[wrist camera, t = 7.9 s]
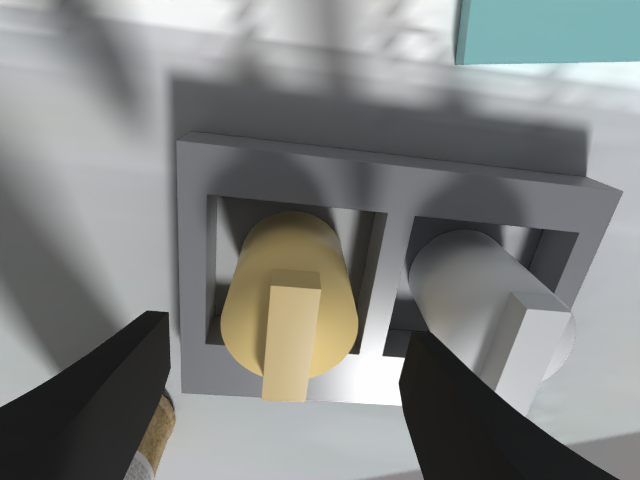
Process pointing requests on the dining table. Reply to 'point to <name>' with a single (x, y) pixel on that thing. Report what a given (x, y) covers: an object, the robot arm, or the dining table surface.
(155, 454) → the spice jar
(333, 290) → the beige cylinder with tab
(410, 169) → the housing
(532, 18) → the lid plate
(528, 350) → the grey knob with ridge
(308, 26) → the dining table surface
